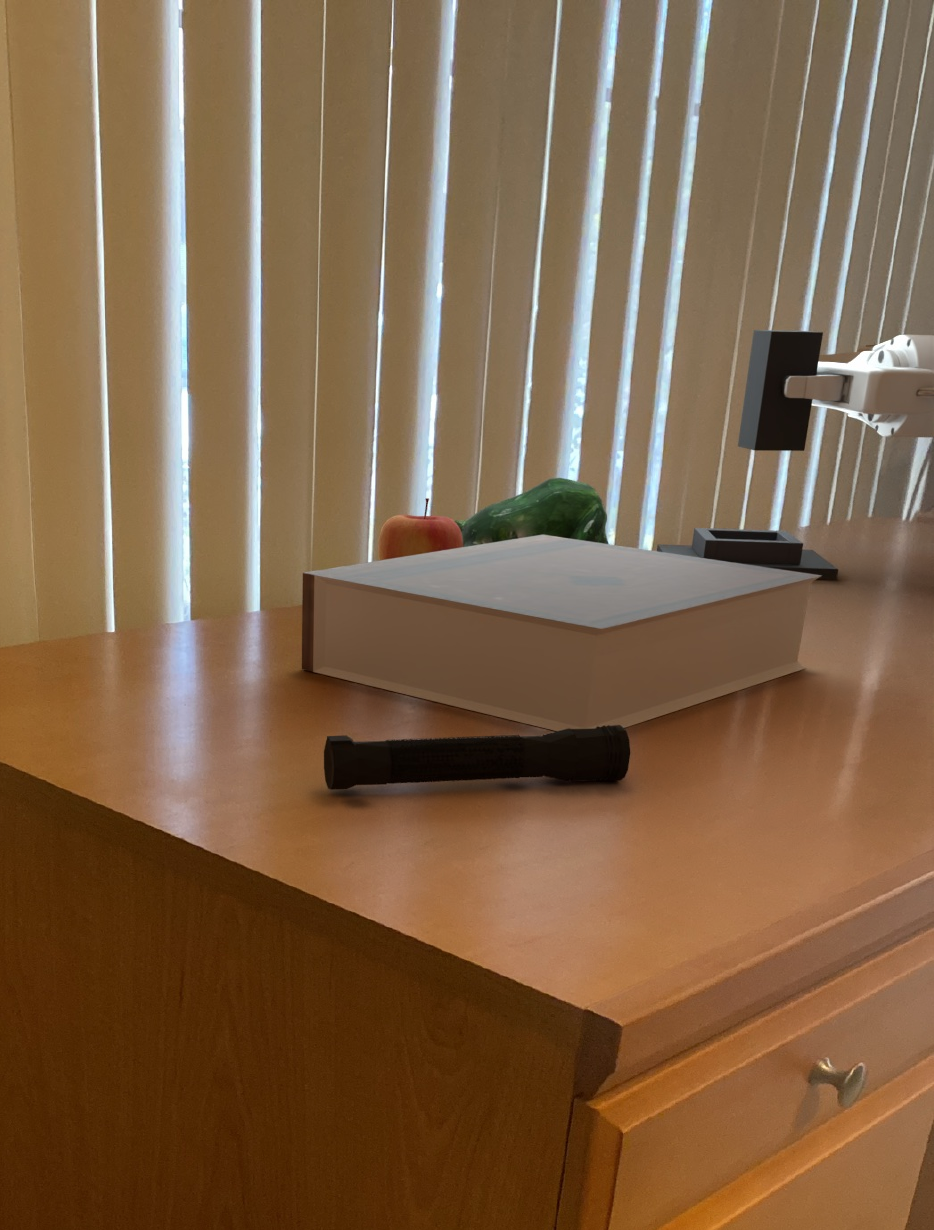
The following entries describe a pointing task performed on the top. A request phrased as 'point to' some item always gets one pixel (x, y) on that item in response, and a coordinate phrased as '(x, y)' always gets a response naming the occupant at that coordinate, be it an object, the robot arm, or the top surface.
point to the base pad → (755, 550)
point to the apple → (417, 535)
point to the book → (555, 629)
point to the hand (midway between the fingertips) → (771, 384)
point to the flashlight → (479, 758)
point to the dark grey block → (777, 390)
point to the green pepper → (541, 515)
